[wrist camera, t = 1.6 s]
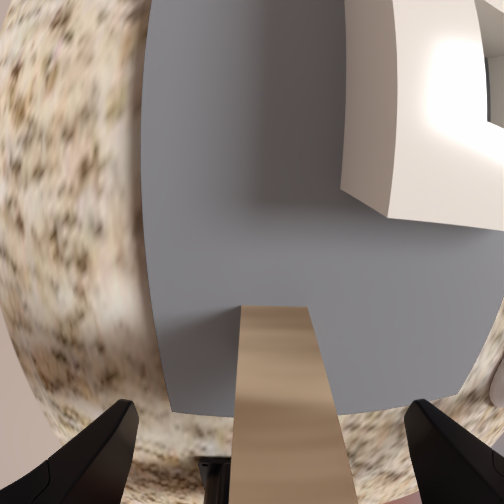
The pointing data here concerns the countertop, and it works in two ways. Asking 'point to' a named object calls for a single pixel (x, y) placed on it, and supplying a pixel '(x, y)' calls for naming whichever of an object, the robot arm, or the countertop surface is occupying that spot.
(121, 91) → the countertop surface
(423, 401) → the robot arm
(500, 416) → the countertop surface
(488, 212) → the holder
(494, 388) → the candlestick
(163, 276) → the board
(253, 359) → the peg
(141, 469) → the countertop surface
